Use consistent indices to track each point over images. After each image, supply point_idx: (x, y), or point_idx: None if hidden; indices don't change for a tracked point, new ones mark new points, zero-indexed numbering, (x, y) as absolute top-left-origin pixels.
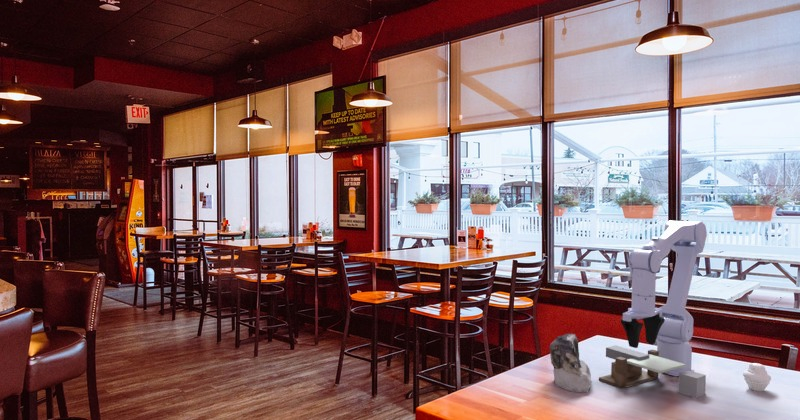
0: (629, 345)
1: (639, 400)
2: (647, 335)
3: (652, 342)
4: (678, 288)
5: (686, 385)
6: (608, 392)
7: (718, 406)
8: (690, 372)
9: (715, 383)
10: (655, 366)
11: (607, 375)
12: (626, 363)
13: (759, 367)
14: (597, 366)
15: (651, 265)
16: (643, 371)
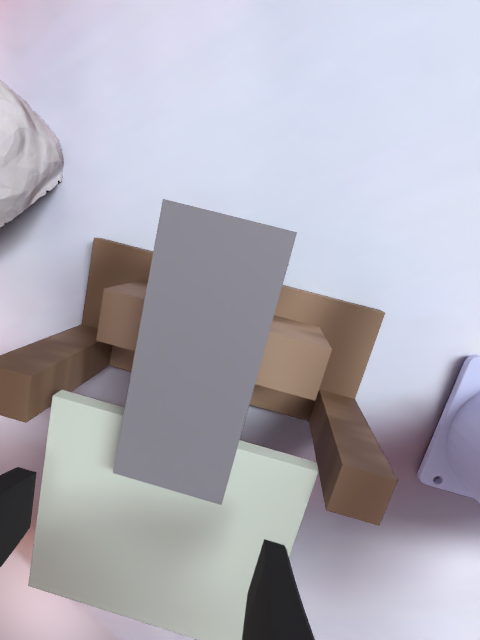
0: (6, 474)
1: (23, 442)
2: (263, 613)
3: (250, 597)
4: None
5: None
6: (3, 331)
7: (179, 634)
8: None
9: (444, 604)
10: (82, 553)
11: (152, 255)
12: (43, 407)
13: None
14: (312, 121)
15: None
16: (355, 361)
